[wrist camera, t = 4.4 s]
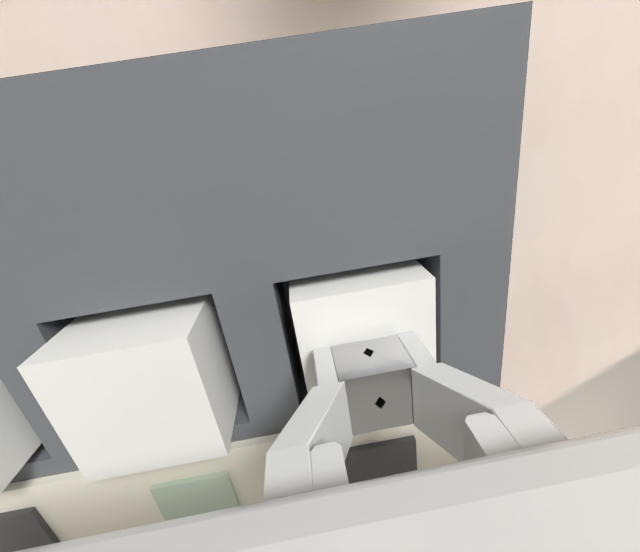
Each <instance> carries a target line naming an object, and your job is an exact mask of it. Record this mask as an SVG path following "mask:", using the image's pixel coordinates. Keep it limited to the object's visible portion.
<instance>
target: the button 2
mask: <svg viewBox="0 0 640 552" xmlns="http://www.w3.org/2000/svg"><path fill="white" fill-rule="evenodd" d="M289 301H290V308H291V313H292V318H293V323H294V328H295V333H296V338H297V343H298V348H299V352H300V357H301V362H302V367H303V372H304V377H305V382H306V387H307V392H308V393H309V391H310V390H311V388H312V387H315V386H317V380H316V373H315V365H314V358H313V349H316V348H322V347H327V346H329V347H330V346H333V345H339V344H345V343H351V342H358V341H366V340H371V339H376V338H381V337H386V336H391V335H395V334H398V333H403V332H407V331H414V332H415V333H416V334H417V336H418V337H419V339H420V340H421V342H422V343H423V344H424V346H425V347H426V349H427V350H428V351H429V353H430V354H431V356H432V357H433V358H434V360H435V361H436V285H435V277H434V276H433V275H432V274H431V273H429V272H428V271H427V270H426V269H425V268H424V267H423V266H422V265H421V264H420V263H419V262H417V261H416V260H415V259H413V260H407V261H401V262H395V263H389V264H384V265H378V266H372V267H366V268H360V269H354V270H348V271H343V272H337V273H331V274H325V275H319V276H313V277H307V278H301V279H296V280H290V281H289Z"/></svg>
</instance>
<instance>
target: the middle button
mask: <svg viewBox="0 0 640 552" xmlns="http://www.w3.org/2000/svg"><path fill="white" fill-rule="evenodd" d="M17 369H18V371H19V372H20V374H21V376H22V377H23V379H24V381H25V382H26V384H27V385H28V387H29V389H30V390H31V392H32V394H33V395H34V397H35V398H36V400H37V402H38V403H39V405H40V407H41V408H42V410H43V412H44V413H45V415H46V416H47V418H48V420H49V421H50V423H51V425H52V426H53V428H54V429H55V431H56V433H57V434H58V436H59V438H60V439H61V441H62V443H63V444H64V446H65V447H66V449H67V451H68V452H69V454H70V456H71V457H72V459H73V460H74V462H75V464H76V465H77V467H78V469H79V470H80V472H81V473H82V475H83V477H84V478H85V480H86V482H91V481H96V480H102V479H107V478H112V477H118V476H123V475H128V474H134V473H139V472H144V471H150V470H155V469H160V468H166V467H171V466H176V465H182V464H187V463H192V462H198V461H203V460H208V459H214V458H219V457H224V456H228V454H229V449H230V443H231V438H232V432H233V427H234V421H235V416H236V410H237V405H238V399H239V394H240V386H239V383H238V380H237V376H236V373H235V370H234V366H233V363H232V360H231V356H230V353H229V350H228V346H227V343H226V340H225V336H224V333H223V330H222V326H221V323H220V320H219V316H218V313H217V310H216V307H215V303H214V300H213V297H212V294H207V295H202V296H196V297H190V298H184V299H178V300H172V301H166V302H161V303H155V304H149V305H143V306H137V307H131V308H125V309H119V310H114V311H108V312H102V313H96V314H90V315H84V316H78V317H76V318H75V319H74V320H73V321H72V322H70V323H69V324H68V325H67V326H66V327H64V328H63V329H62V330H61V331H60V332H58V333H57V334H56V335H55V336H54V337H53V338H51V339H50V340H49V341H48V342H47V343H45V344H44V345H43V346H42V347H41V348H40V349H38V350H37V351H36V352H35V353H34V354H32V355H31V356H30V357H29V358H28V359H26V360H25V361H24V362H23V363H22V364H21V365H19V366H18V367H17Z"/></svg>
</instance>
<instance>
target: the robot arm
mask: <svg viewBox="0 0 640 552" xmlns="http://www.w3.org/2000/svg"><path fill="white" fill-rule="evenodd" d="M313 358H314V365H315V373H316V380H317V386H315V387H312V388H311V390H310V391H309V393H308V394H307V395H306V397H305V398H304V400H303V401H302V403H301V404H300V405H299V407H298V408H297V410H296V411H295V413H294V414H293V415H292V417H291V418H290V420H289V421H288V423H287V424H286V426H285V427H284V428H283V430H282V431H281V433H280V434H279V436H278V437H277V438H276V440H275V441H274V443H273V444H272V446H271V447H270V448H269V450H268V451H267V453H266V465H265V482H264V498H263V501H262V502H257V503H252V504H247V505H242V506H237V507H232V508H227V509H222V510H217V511H212V512H207V513H202V514H197V515H192V516H187V517H182V518H177V519H173V520H168V521H163V522H158V523H153V524H148V525H143V526H138V527H133V528H128V529H123V530H118V531H113V532H108V533H103V534H98V535H93V536H88V537H83V538H78V539H73V540H68V541H63V542H58V543H53V544H49V545H44V546H39V547H34V548H29V549H24V550H19V551H14V552H640V425H638V426H633V427H628V428H623V429H618V430H614V431H609V432H604V433H599V434H594V435H589V436H584V437H579V438H574V439H569V440H568V439H567V438H566V437H565V436H564V435H563V434H562V433H561V431H560V430H559V429H558V428H557V427H556V426H555V425H554V424H553V423H552V422H551V421H550V420H549V419H548V418H547V417H546V416H545V415H544V414H543V413H542V412H541V411H540V409H539V408H538V407H537V406H536V405H535V404H534V403H533V402H532V401H530V400H527V399H525V398H523V397H520V396H518V395H516V394H513V393H511V392H509V391H506V390H504V389H502V388H500V387H497V386H495V385H493V384H490V383H488V382H486V381H483V380H481V379H479V378H477V377H474V376H472V375H470V374H467V373H465V372H463V371H460V370H458V369H456V368H454V367H451V366H449V365H447V364H444V363H436V361H435V360H434V358H433V357H432V356H431V354H430V353H429V351H428V350H427V349H426V347H425V346H424V344H423V343H422V342H421V340H420V339H419V337H418V336H417V334H416V333H415V332H414V331H407V332H403V333H398V334H395V335H391V336H386V337H381V338H376V339H371V340H366V341H358V342H351V343H345V344H339V345H333V346H330V347H329V346H327V347H322V348H316V349H313ZM411 424H414V426H415V427H416V428H418V429H419V430H420V431H421V432H423V433H424V434H425V435H426V436H428V437H429V438H430V439H431V440H433V441H434V442H435V443H436V444H438V445H439V446H440V447H442V448H443V449H444V450H445V451H447V452H448V453H449V454H450V455H452V456H453V457H454V458H455V459H457V460H458V461H459V462H454V463H449V464H444V465H439V466H435V467H430V468H425V469H420V470H415V471H410V472H405V473H400V474H395V475H390V476H385V477H380V478H375V479H370V480H366V481H361V482H356V483H351V484H349V481H348V476H347V471H346V466H345V459H346V456H347V453H348V451H349V448H350V445H351V442H352V440H353V436H355V435H360V434H364V433H368V432H373V431H377V430H382V429H387V428H393V427H399V426H405V425H411Z"/></svg>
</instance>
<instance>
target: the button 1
mask: <svg viewBox="0 0 640 552" xmlns="http://www.w3.org/2000/svg"><path fill="white" fill-rule="evenodd" d="M41 443H42V442H41V441H40V439H39V438H38V436H37V435H36V433H35V432H34V430H33V428H32V427H31V425H30V424H29V422H28V421H27V419H26V418H25V416H24V415H23V413H22V411H21V410H20V408H19V407H18V405H17V404H16V402H15V401H14V399H13V398H12V396H11V394H10V393H9V391H8V390H7V388H6V387H5V385H4V384H3V382H2V381H1V379H0V494H1V493H2V492H3V490H4V489H5V488H6V487H7V485H8V484H9V483H10V482H11V481H12V479H13V478H14V477H15V476H16V474H17V473H18V472H19V471H20V469H21V468H22V467H23V466H24V464H25V463H26V462H27V461H28V459H29V458H30V457H31V456H32V454H33V453H34V452H35V451H36V450H37V448H38V447H39V446H40V445H41Z"/></svg>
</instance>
